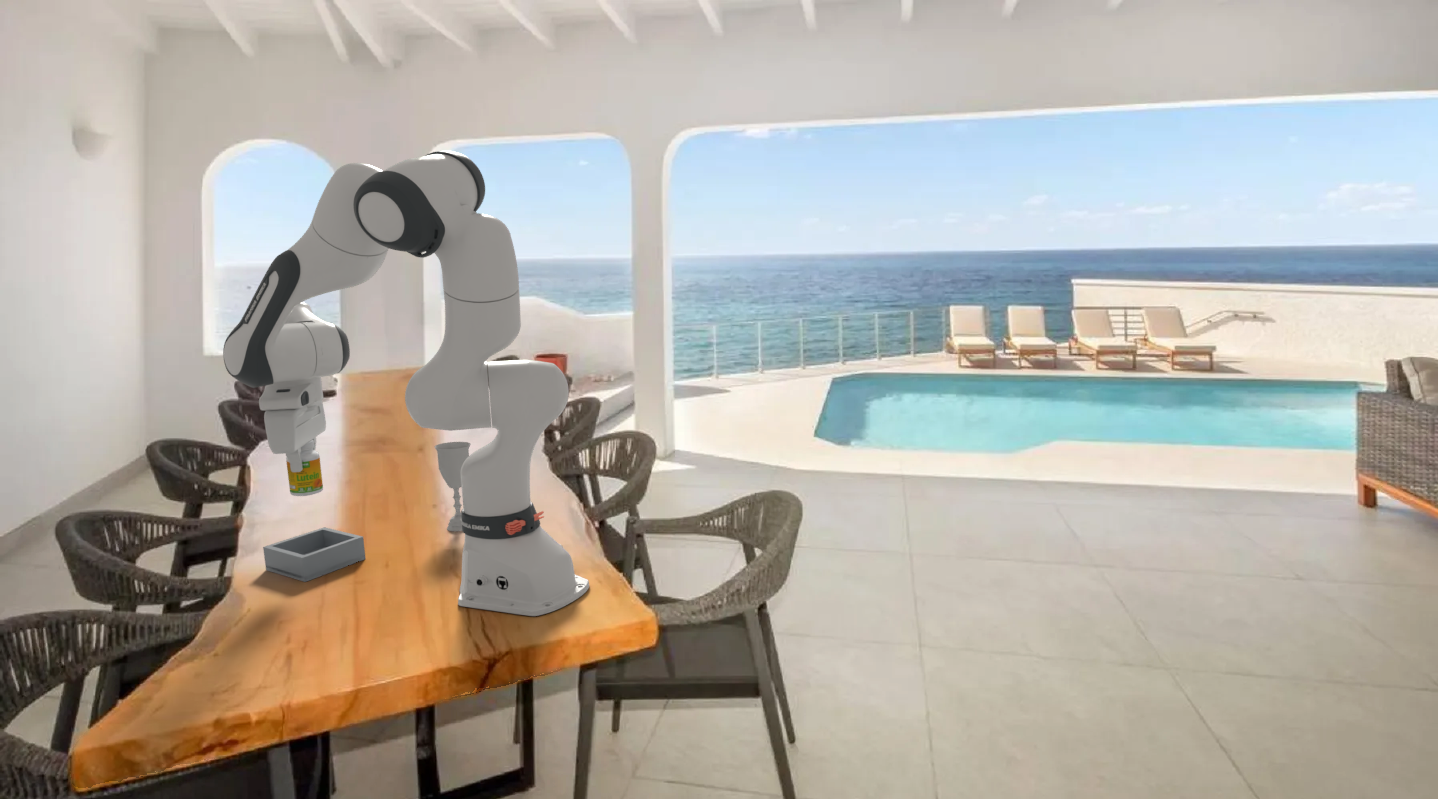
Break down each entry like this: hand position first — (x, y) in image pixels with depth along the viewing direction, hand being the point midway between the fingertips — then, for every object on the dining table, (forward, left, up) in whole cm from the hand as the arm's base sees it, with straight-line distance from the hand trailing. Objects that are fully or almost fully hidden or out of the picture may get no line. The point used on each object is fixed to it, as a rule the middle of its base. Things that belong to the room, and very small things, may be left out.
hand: (303, 466), depth 137 cm
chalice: (-8, -27, -19) cm, 34 cm away
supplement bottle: (0, 0, -5) cm, 5 cm away
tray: (0, 0, -19) cm, 19 cm away
